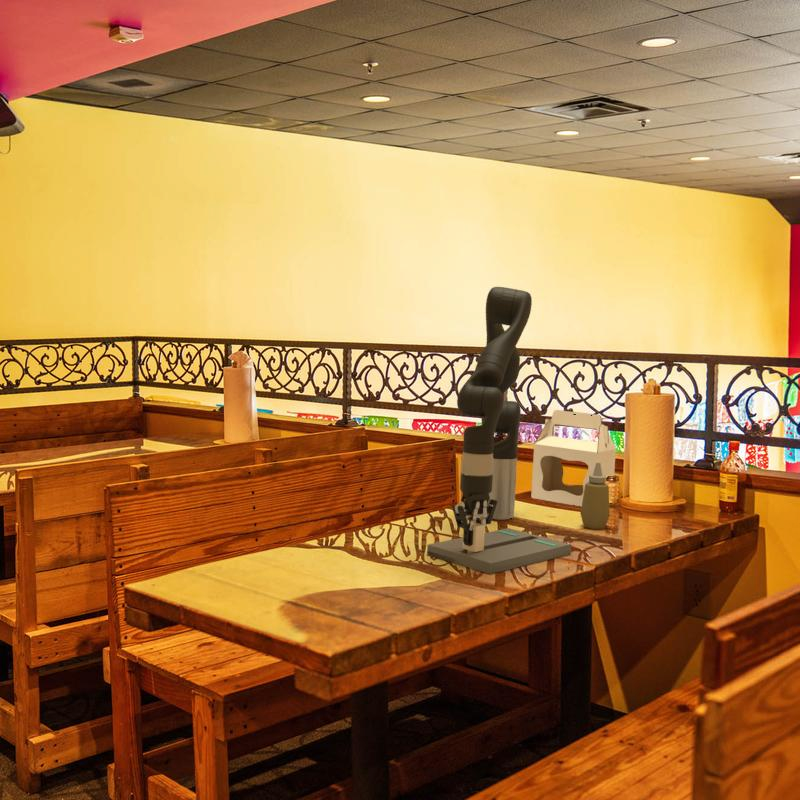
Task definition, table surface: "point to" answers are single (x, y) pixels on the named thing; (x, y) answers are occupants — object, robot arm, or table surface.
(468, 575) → the table surface
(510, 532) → the panel
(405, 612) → the table surface
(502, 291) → the robot arm
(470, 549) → the fader tab
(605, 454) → the gable box
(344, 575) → the table surface
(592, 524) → the squeeze bottle
